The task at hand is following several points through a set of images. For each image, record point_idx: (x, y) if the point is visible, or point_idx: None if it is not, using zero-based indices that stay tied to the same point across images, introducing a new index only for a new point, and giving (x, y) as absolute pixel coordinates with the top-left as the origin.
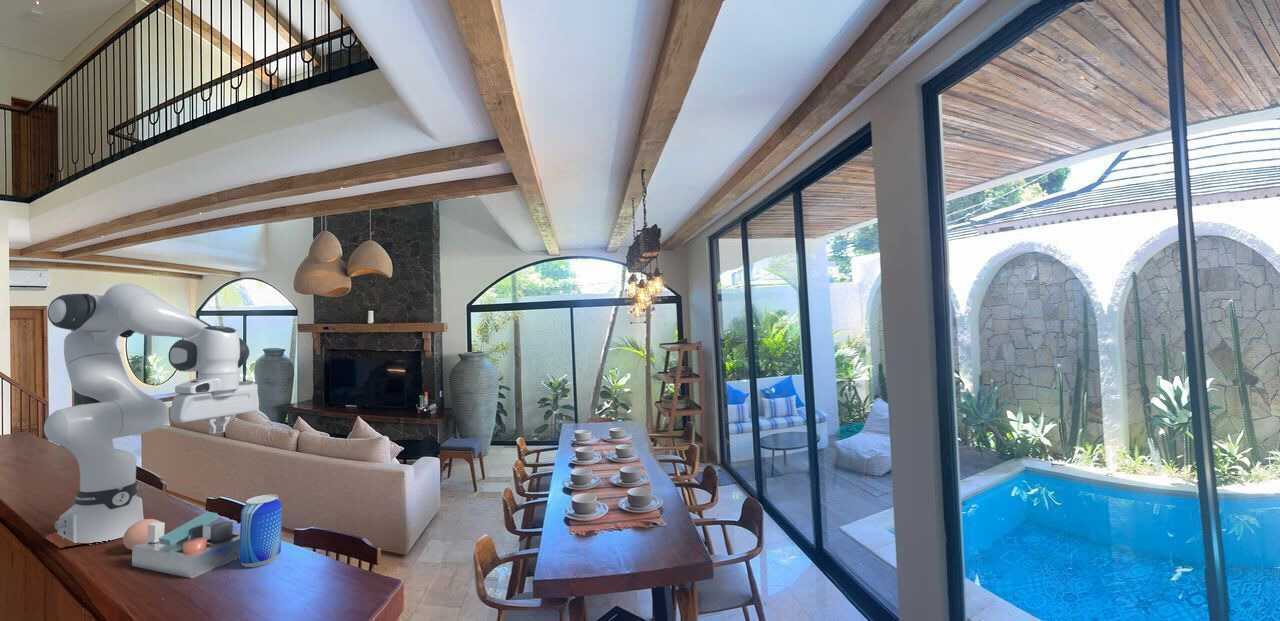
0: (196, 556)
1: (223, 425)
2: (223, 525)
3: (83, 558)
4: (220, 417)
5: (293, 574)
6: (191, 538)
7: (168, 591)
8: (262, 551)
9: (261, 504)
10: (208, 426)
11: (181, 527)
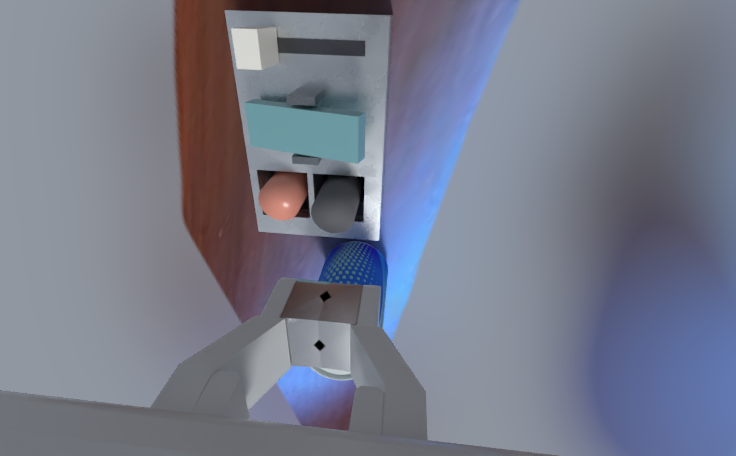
0: (266, 231)
1: (355, 377)
2: (331, 220)
3: None
4: (351, 423)
5: None
6: None
7: (233, 218)
8: None
9: (319, 369)
10: (244, 327)
11: (288, 118)
